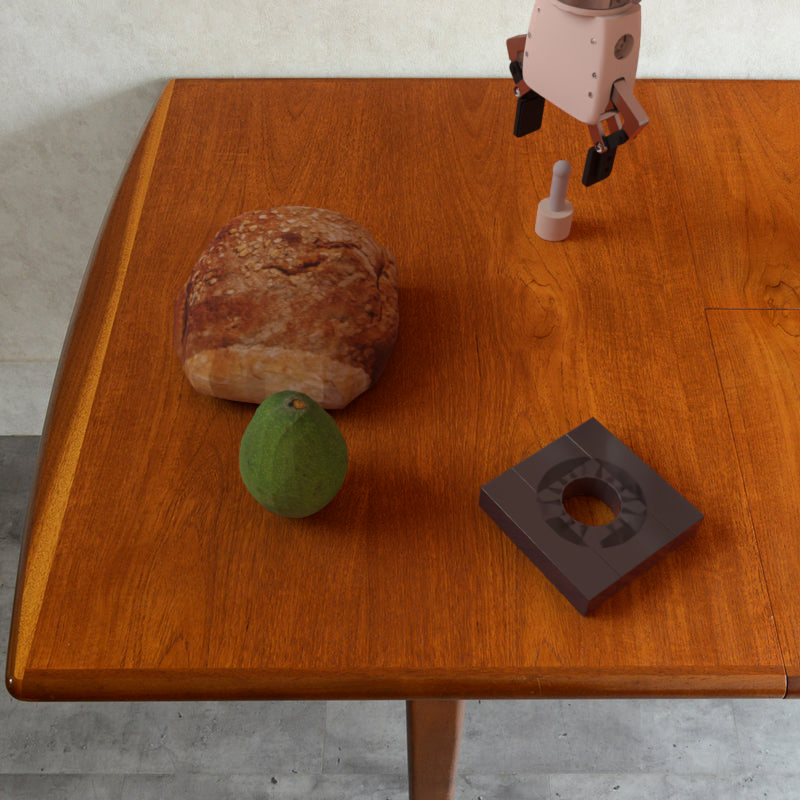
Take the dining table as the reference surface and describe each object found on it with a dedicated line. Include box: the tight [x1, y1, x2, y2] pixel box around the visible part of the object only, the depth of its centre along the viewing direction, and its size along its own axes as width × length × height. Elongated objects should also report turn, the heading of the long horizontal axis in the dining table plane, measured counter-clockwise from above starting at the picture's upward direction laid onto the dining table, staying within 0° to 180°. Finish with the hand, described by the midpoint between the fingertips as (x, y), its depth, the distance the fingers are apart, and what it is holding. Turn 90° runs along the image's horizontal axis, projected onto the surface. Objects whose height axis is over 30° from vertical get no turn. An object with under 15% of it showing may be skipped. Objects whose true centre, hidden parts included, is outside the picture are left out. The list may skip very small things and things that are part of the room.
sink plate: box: [478, 416, 705, 618], centre depth 69 cm, size 12×12×2 cm
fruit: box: [238, 390, 349, 519], centre depth 67 cm, size 8×8×12 cm
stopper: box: [534, 159, 575, 242], centre depth 90 cm, size 4×4×8 cm
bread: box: [172, 205, 400, 410], centre depth 78 cm, size 20×18×10 cm
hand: (560, 156), depth 86 cm, fingers open, 9 cm apart
